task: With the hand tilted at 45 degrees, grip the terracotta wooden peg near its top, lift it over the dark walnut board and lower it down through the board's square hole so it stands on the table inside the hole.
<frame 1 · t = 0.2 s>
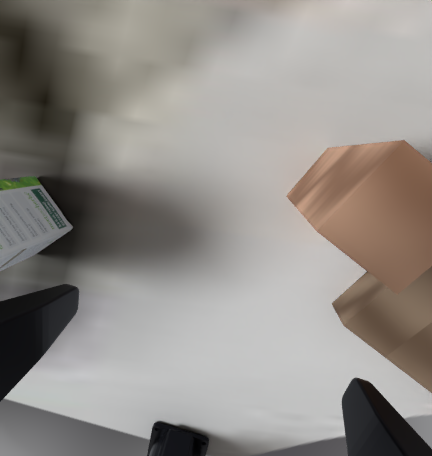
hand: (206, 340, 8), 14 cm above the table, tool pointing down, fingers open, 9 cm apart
syrup box: (37, 217, 24), on the table
terracotta peg: (328, 191, 20), on the table
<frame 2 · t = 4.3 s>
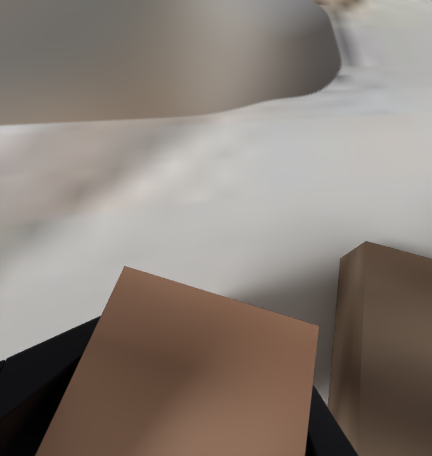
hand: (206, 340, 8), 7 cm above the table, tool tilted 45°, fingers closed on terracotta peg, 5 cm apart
terracotta peg: (198, 371, 14), on the table, touching gripper
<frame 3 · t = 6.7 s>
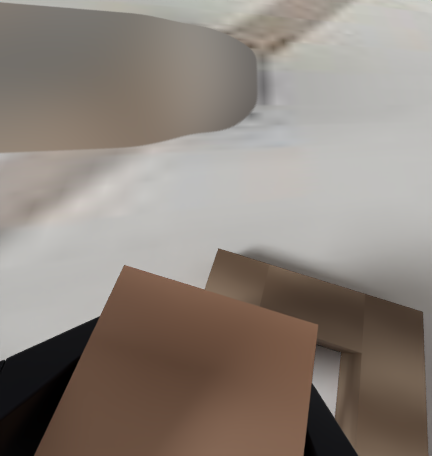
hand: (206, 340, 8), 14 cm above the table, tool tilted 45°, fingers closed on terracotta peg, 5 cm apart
walnut hole board: (286, 388, 19), on the table
terracotta peg: (198, 370, 14), point 6 cm above the table, touching gripper
when the fingers open (8 cm above the table, at t = 9.5 s): terracotta peg stays where it is, resting in walnut hole board.
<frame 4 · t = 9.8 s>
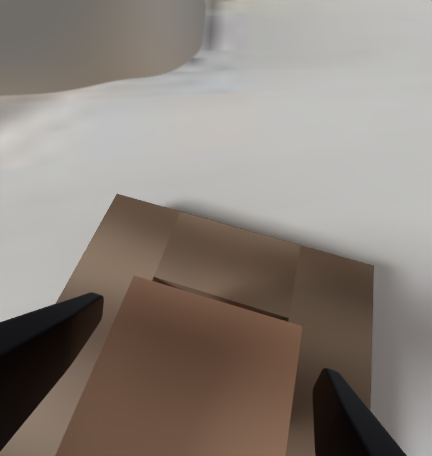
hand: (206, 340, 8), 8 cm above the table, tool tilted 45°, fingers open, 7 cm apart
walnut hole board: (199, 369, 15), on the table
terracotta peg: (199, 369, 15), resting in walnut hole board
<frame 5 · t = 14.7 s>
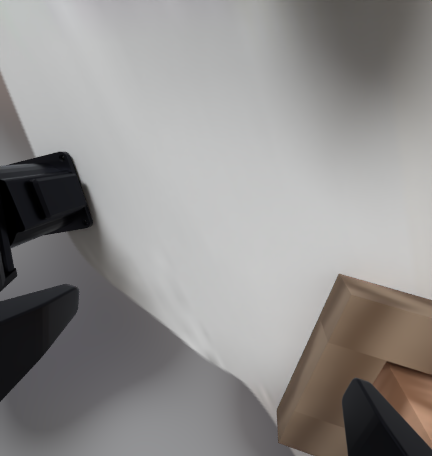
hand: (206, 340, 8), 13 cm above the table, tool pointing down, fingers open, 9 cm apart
walnut hole board: (395, 379, 22), on the table
terracotta peg: (395, 379, 22), resting in walnut hole board
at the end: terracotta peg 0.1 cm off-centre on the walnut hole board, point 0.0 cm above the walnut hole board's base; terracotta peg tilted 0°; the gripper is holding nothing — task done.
